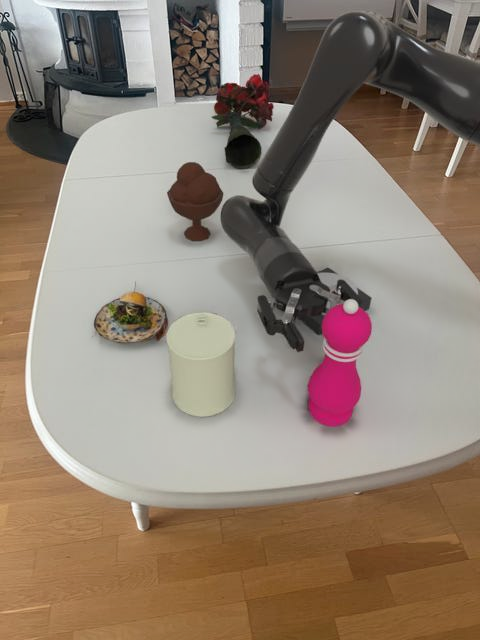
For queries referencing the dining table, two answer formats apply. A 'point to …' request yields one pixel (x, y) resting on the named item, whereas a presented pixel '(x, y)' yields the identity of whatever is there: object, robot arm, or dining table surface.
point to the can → (202, 363)
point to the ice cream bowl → (195, 198)
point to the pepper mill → (339, 364)
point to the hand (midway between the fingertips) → (331, 340)
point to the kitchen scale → (329, 279)
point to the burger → (131, 319)
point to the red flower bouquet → (243, 119)
